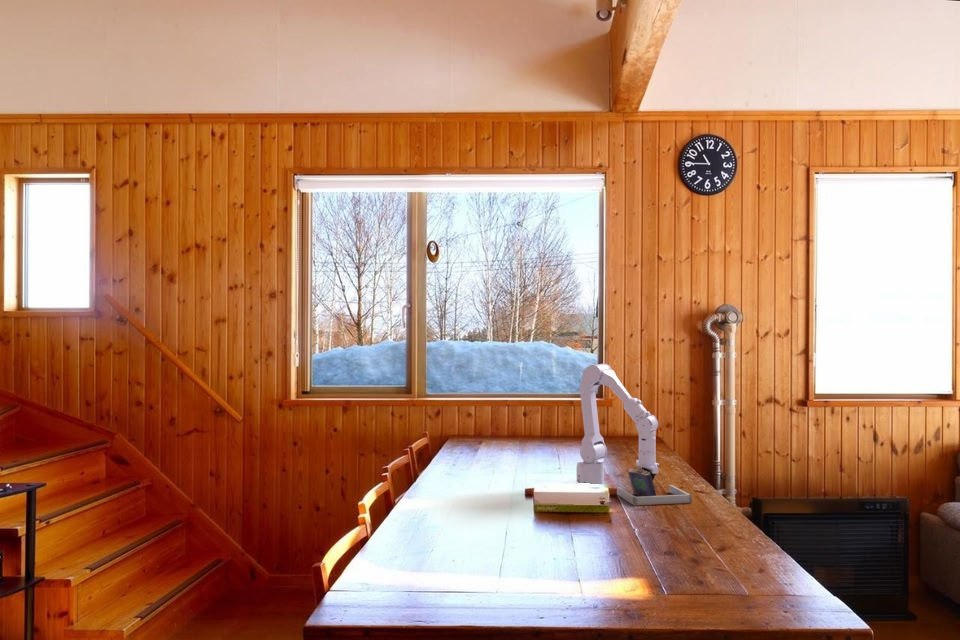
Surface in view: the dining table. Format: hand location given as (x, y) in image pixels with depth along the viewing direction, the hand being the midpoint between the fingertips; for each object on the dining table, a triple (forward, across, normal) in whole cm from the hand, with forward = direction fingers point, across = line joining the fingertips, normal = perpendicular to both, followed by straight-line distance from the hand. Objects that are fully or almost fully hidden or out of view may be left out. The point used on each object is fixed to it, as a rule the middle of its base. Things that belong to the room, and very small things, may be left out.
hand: (647, 490), depth 253 cm
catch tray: (+1, -5, 0) cm, 5 cm away
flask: (+1, -2, +1) cm, 3 cm away
